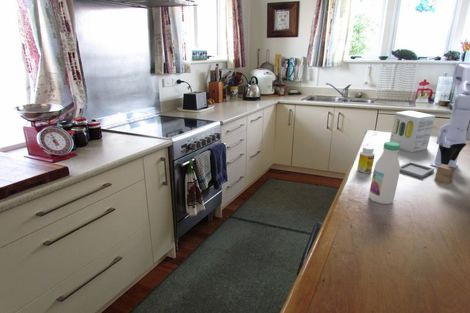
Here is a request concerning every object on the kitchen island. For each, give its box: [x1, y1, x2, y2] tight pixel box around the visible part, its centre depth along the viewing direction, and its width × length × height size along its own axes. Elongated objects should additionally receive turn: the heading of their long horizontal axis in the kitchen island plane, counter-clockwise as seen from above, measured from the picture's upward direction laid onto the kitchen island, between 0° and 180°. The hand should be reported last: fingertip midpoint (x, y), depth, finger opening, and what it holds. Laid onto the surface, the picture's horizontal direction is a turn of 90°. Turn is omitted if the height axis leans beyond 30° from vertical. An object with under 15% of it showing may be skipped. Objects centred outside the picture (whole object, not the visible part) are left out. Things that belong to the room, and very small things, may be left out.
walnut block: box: [434, 164, 456, 185], centre depth 123 cm, size 4×4×6 cm
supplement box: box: [389, 110, 436, 153], centre depth 161 cm, size 13×13×18 cm
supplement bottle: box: [356, 145, 376, 174], centre depth 130 cm, size 6×6×10 cm
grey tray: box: [400, 161, 435, 180], centre depth 132 cm, size 12×10×2 cm
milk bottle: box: [368, 141, 401, 205], centre depth 104 cm, size 8×8×20 cm
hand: (448, 162), depth 121 cm, fingers open, 7 cm apart
